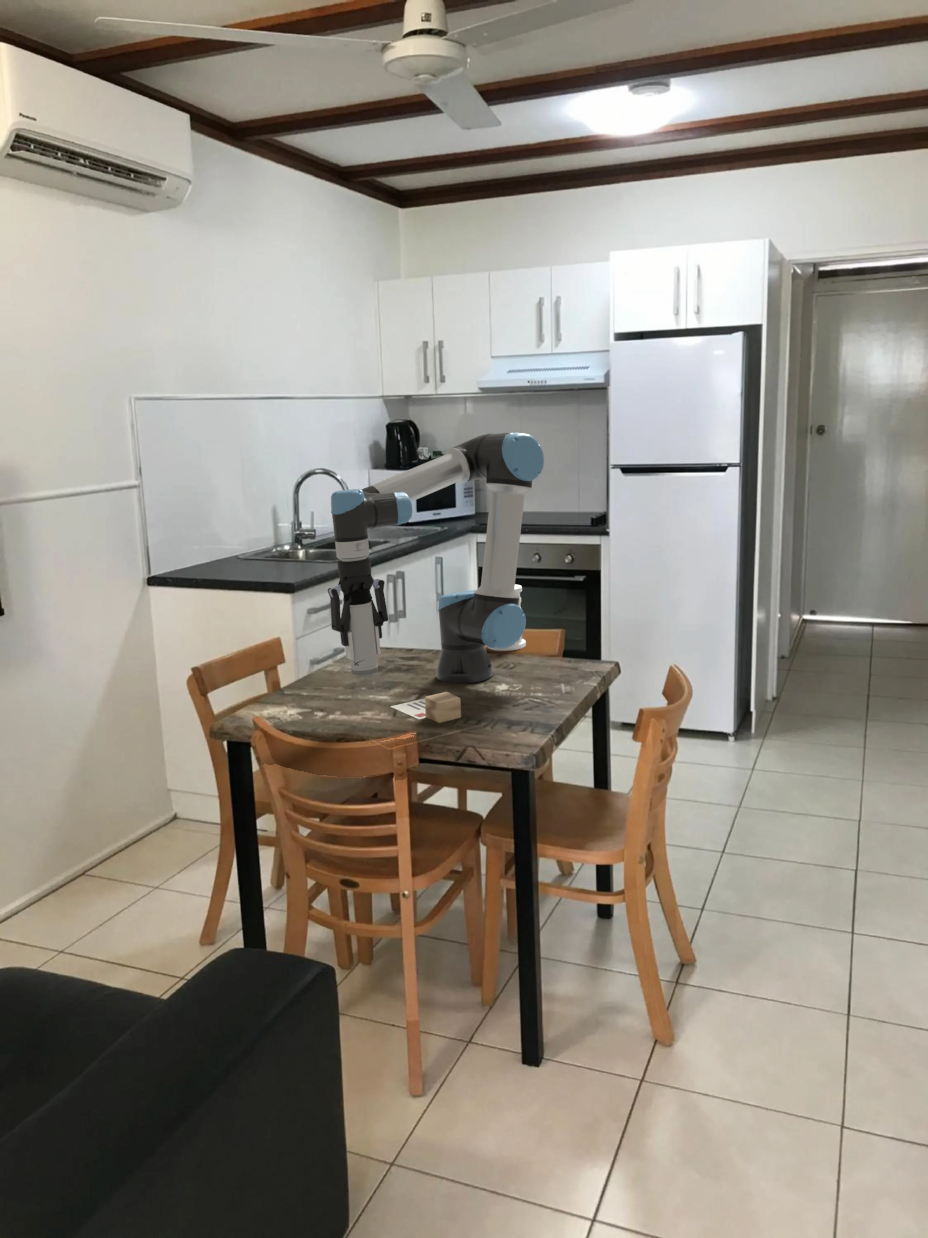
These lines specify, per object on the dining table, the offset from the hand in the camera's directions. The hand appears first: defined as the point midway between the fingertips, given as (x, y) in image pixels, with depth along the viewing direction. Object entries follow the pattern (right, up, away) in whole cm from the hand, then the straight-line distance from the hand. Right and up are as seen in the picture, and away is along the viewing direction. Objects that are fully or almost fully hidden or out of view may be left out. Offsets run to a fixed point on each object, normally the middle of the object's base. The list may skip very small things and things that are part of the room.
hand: (363, 655), depth 233 cm
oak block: (+19, -15, +1) cm, 24 cm away
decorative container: (+36, 0, +67) cm, 76 cm away
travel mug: (0, -4, +1) cm, 4 cm away
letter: (+13, -13, +9) cm, 21 cm away
